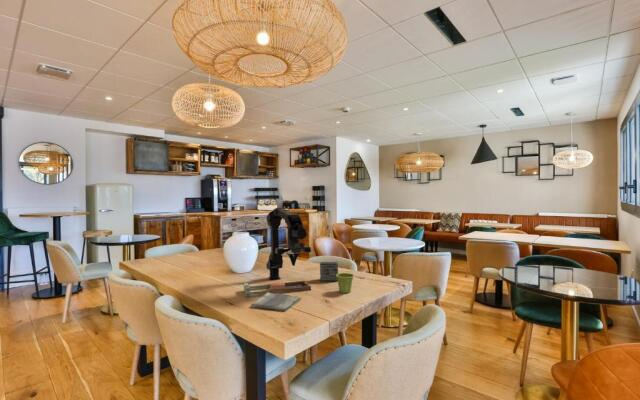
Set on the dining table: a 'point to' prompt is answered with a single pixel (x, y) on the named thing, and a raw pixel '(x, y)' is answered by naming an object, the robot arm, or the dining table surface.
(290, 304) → the dish towel
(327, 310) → the dining table surface
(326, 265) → the small box
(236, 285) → the dining table surface
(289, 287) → the channel
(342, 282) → the plant pot
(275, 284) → the block
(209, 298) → the dining table surface
